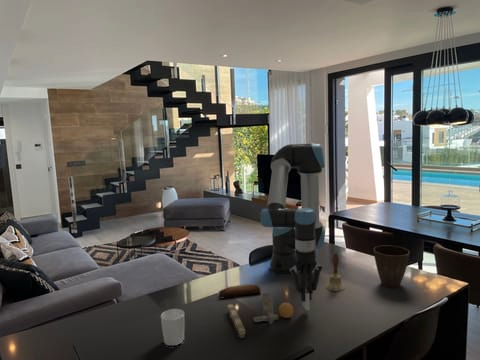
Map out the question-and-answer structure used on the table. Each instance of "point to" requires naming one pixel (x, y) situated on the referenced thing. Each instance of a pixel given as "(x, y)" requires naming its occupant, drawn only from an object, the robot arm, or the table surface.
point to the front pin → (266, 317)
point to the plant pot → (391, 264)
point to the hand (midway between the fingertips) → (306, 308)
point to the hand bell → (335, 277)
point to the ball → (286, 310)
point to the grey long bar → (236, 320)
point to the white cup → (173, 326)
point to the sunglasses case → (239, 290)
